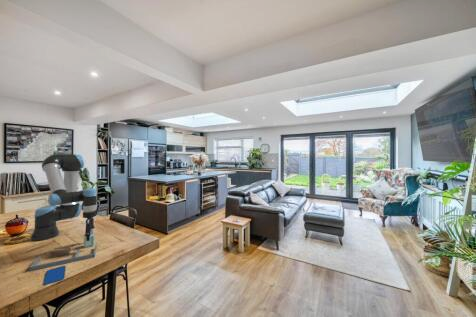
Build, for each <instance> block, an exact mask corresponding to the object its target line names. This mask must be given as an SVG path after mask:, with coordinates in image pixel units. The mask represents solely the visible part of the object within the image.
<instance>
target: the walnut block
mask: <svg viewBox="0 0 476 317" xmlns="http://www.w3.org/2000/svg"><path fill="white" fill-rule="evenodd" d="M71 248H72V246H71V245H67V246H62V247H55V248H53V249H52V250H51V251H50V259H53V258H59V257H60V258H61V257H65V256H68V255H69V254H70V253H71V252H72V250H71Z"/></svg>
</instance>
